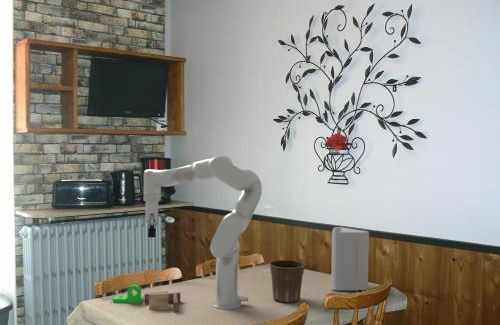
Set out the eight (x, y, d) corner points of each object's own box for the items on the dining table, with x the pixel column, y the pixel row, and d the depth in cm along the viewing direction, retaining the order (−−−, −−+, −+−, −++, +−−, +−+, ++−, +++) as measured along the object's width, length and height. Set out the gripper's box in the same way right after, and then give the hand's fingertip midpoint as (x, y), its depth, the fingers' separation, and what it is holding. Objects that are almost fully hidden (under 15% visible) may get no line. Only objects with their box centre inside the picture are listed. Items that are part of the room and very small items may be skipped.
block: (149, 305, 232) (149, 291, 232) (168, 304, 234) (168, 290, 234) (148, 308, 228) (149, 294, 227) (168, 308, 229) (168, 293, 229)
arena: (180, 301, 240) (180, 292, 240) (182, 312, 224) (182, 302, 224) (144, 302, 237) (144, 293, 237) (143, 313, 222) (143, 303, 222)
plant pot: (308, 303, 239) (309, 267, 238) (272, 304, 236) (273, 267, 236) (299, 293, 255) (300, 259, 254) (265, 294, 252) (266, 260, 252)
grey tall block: (318, 285, 270) (319, 229, 269) (338, 281, 280) (339, 226, 279) (348, 294, 255) (349, 234, 255) (368, 289, 265) (369, 231, 264)
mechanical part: (143, 300, 241) (143, 282, 241) (139, 304, 235) (139, 285, 235) (117, 299, 242) (117, 281, 242) (112, 303, 236) (112, 285, 236)
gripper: (143, 195, 251) (143, 232, 251) (143, 199, 233) (142, 238, 234) (160, 195, 252) (160, 232, 252) (160, 199, 235) (160, 238, 235)
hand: (151, 235), depth 243 cm, fingers open, 9 cm apart
